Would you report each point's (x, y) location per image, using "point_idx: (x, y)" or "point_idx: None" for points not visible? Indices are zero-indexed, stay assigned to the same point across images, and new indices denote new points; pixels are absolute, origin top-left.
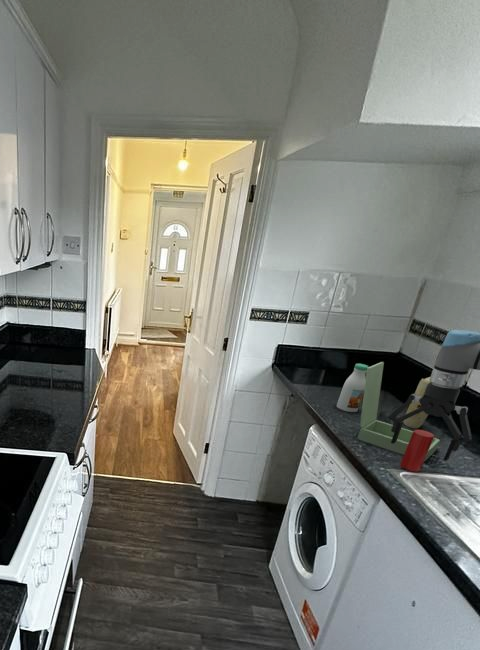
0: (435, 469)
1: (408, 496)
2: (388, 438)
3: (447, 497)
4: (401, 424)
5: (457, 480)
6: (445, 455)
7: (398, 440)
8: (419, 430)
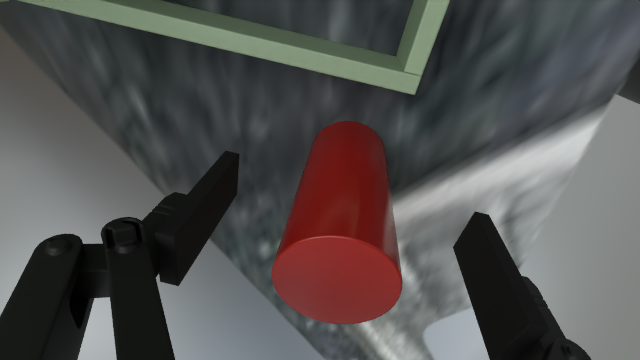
0: (444, 135)
1: (343, 341)
2: (192, 40)
3: (437, 308)
4: (178, 260)
5: (513, 186)
6: (460, 268)
7: (245, 44)
8: (304, 255)
